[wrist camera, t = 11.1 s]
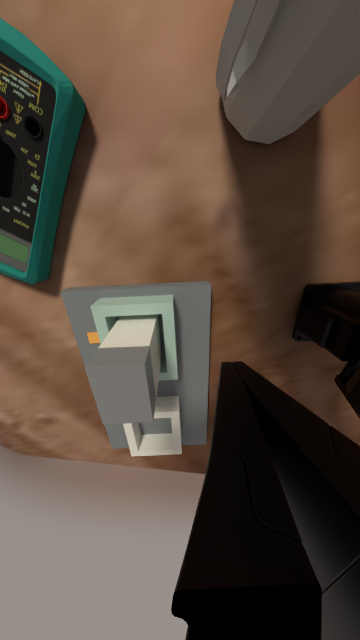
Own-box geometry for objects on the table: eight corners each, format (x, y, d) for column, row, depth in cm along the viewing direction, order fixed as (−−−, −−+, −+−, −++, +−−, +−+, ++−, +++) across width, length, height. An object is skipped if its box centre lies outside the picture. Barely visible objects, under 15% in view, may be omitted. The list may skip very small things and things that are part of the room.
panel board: (208, 280, 18) (211, 285, 16) (205, 434, 28) (206, 445, 27) (69, 287, 18) (58, 292, 16) (115, 438, 28) (112, 450, 27)
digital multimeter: (93, 98, 13) (71, 61, 10) (51, 282, 18) (29, 289, 16) (-22, 20, 11) (-83, -47, 9) (-30, 246, 17) (-70, 247, 14)
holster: (178, 395, 22) (178, 411, 20) (181, 437, 26) (181, 454, 24) (125, 398, 22) (120, 414, 20) (135, 439, 26) (131, 456, 24)
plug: (157, 312, 18) (144, 364, 10) (161, 354, 20) (153, 422, 13) (122, 313, 18) (84, 367, 10) (129, 355, 20) (103, 424, 13)
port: (173, 294, 17) (173, 302, 15) (177, 365, 20) (177, 379, 19) (100, 298, 17) (90, 306, 15) (117, 368, 21) (111, 382, 19)
